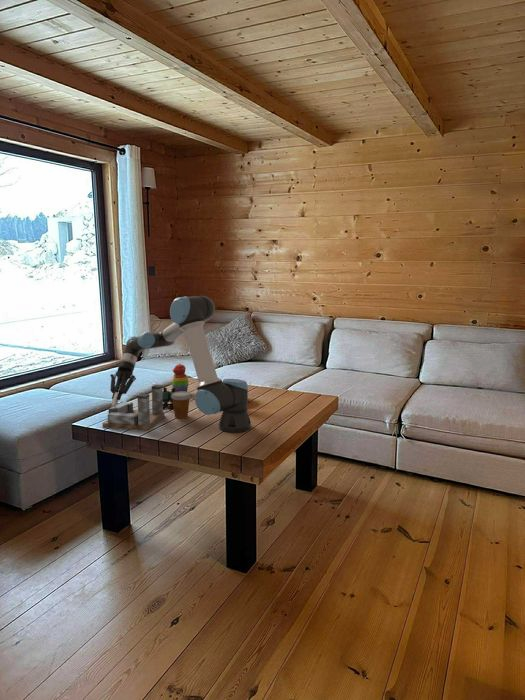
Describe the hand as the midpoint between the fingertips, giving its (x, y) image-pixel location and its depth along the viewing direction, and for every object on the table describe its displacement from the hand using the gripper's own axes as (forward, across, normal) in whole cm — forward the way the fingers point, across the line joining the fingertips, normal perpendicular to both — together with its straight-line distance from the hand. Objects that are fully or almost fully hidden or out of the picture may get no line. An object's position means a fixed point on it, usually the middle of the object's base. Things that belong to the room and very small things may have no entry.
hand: (113, 405), depth 232 cm
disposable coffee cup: (-4, -29, -16) cm, 33 cm away
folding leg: (-5, 0, -11) cm, 12 cm away
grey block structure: (+4, -9, -8) cm, 13 cm away
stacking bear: (-32, -14, -44) cm, 57 cm away
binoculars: (-13, -17, -25) cm, 33 cm away
